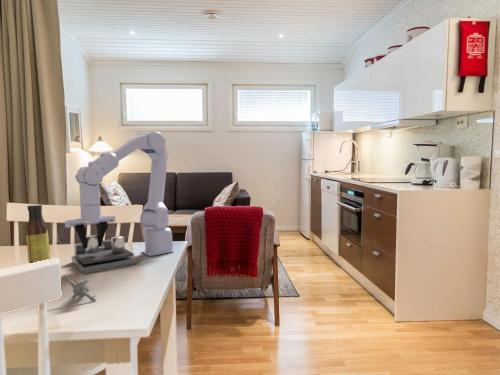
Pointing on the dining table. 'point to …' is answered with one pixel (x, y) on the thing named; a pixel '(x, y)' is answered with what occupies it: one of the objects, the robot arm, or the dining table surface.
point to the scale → (103, 264)
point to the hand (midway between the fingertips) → (92, 247)
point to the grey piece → (80, 288)
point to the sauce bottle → (37, 235)
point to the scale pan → (102, 256)
